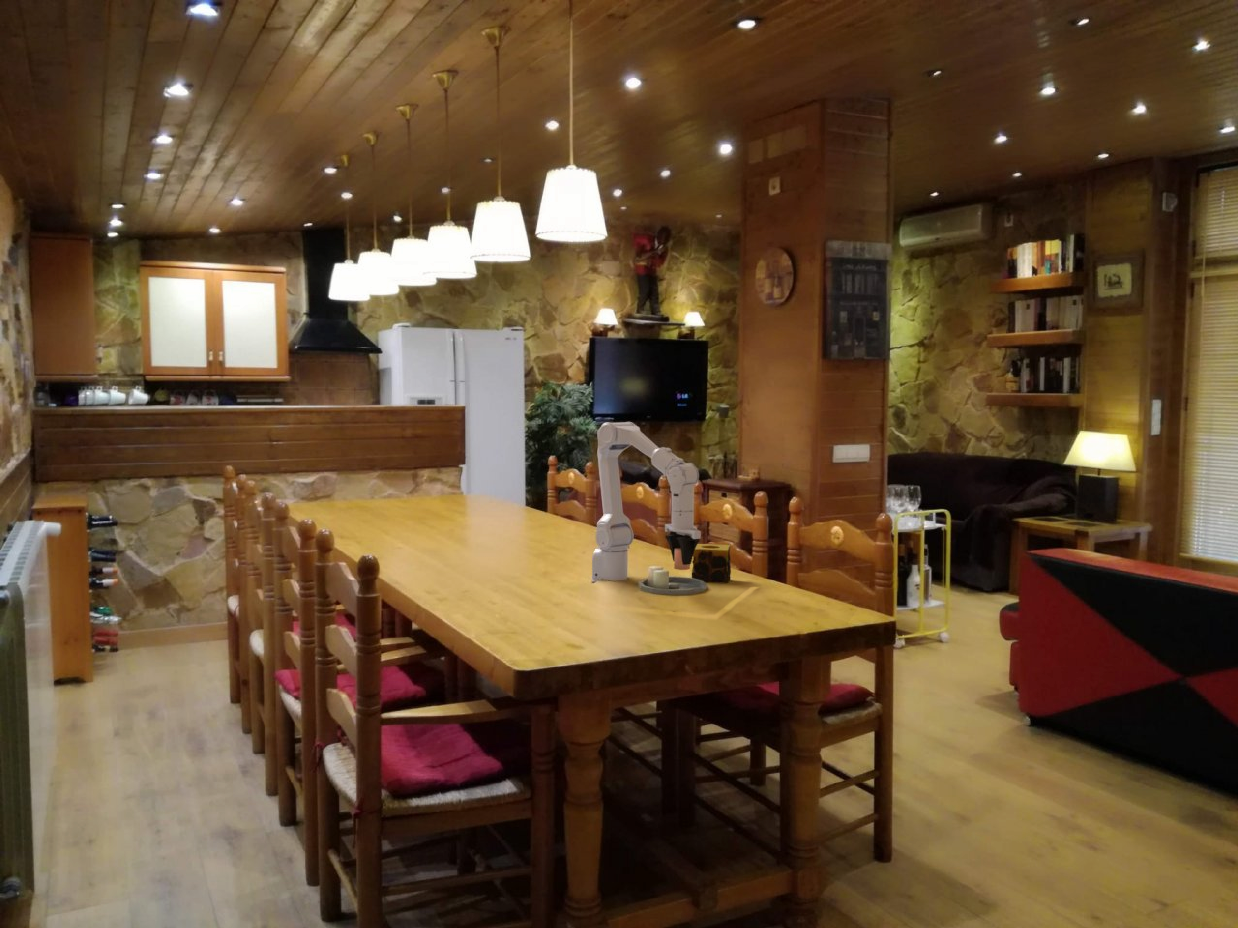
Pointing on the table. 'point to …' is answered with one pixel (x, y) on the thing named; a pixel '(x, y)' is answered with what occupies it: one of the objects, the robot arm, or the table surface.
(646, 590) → the groove tray
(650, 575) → the bead
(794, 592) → the table surface
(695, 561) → the yellow black patterned cube
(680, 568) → the bead
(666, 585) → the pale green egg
